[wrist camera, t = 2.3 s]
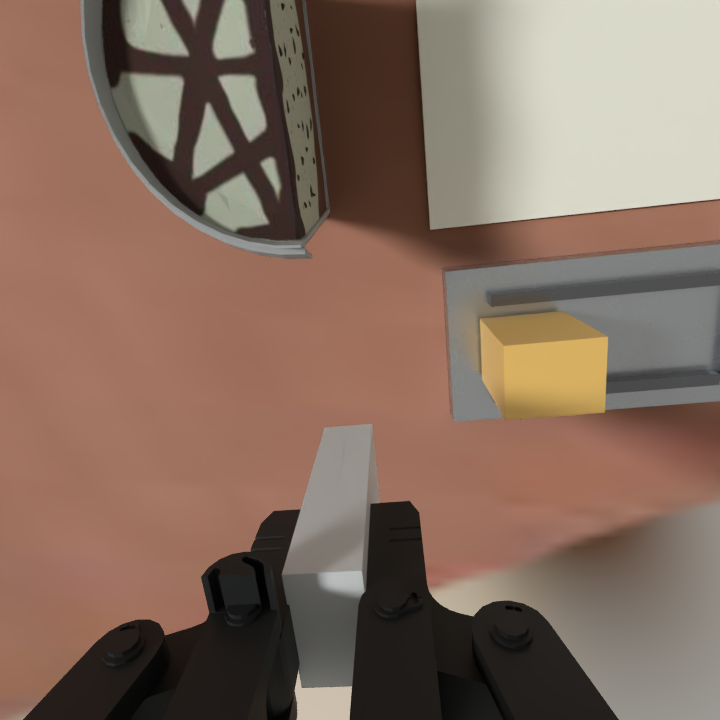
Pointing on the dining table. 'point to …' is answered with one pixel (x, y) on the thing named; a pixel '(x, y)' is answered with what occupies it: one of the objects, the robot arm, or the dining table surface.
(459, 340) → the panel
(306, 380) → the dining table surface
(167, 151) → the food container
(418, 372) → the dining table surface
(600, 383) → the yellow block
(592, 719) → the robot arm
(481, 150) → the mat
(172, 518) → the dining table surface
